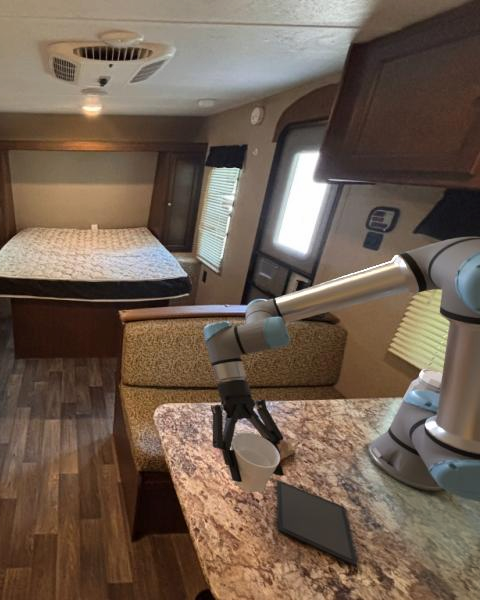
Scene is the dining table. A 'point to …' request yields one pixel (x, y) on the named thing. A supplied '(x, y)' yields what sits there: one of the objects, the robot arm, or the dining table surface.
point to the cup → (254, 461)
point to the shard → (285, 449)
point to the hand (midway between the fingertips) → (258, 477)
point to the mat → (314, 522)
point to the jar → (426, 382)
